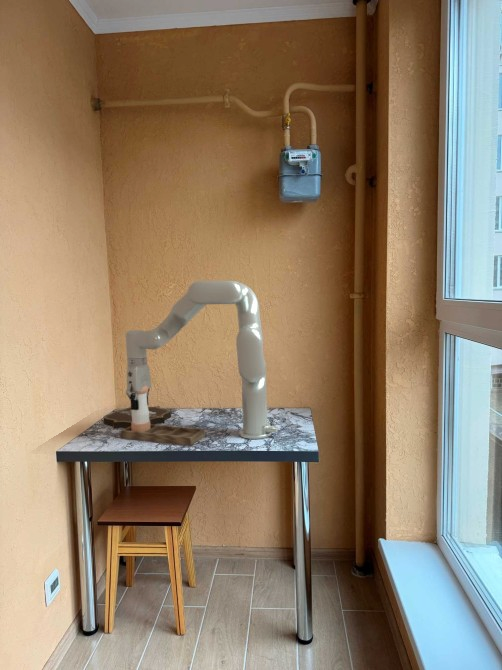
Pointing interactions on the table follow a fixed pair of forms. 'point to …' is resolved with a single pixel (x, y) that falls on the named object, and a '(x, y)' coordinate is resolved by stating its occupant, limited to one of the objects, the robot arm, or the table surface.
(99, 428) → the table surface
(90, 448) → the table surface
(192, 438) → the notch ledge
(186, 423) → the table surface
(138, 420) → the pepper shaker
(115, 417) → the decorative plaque
